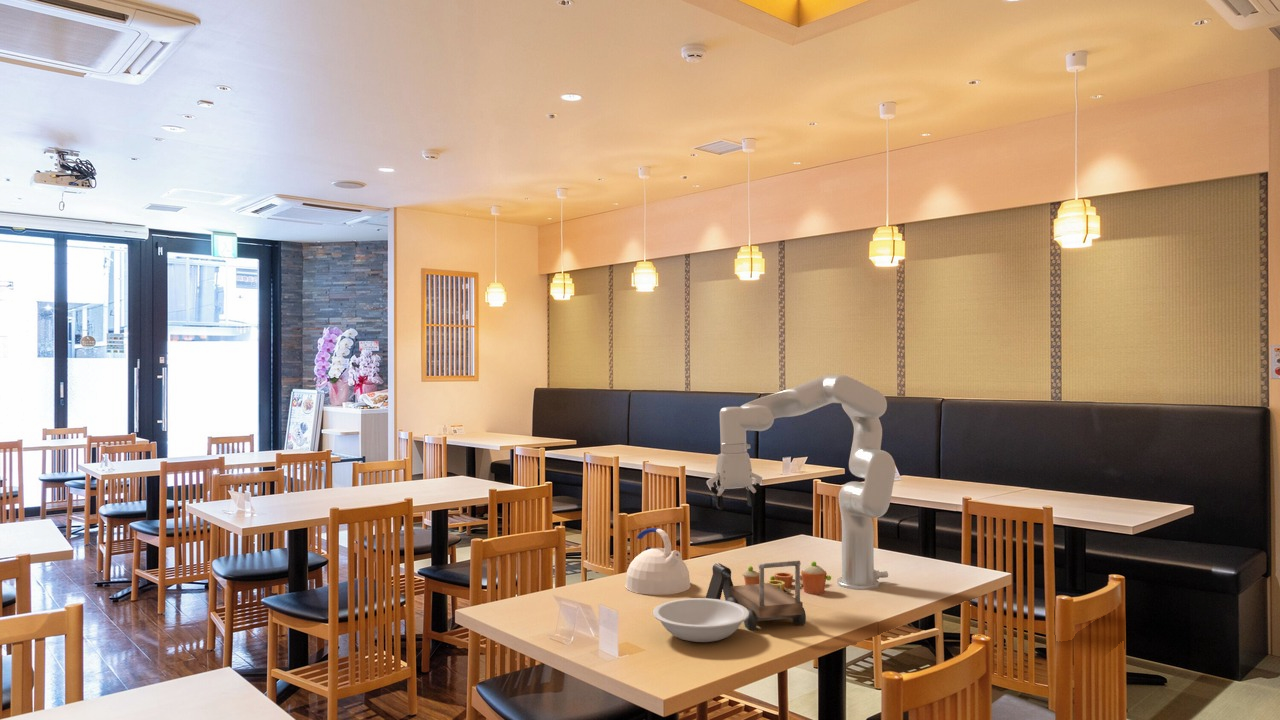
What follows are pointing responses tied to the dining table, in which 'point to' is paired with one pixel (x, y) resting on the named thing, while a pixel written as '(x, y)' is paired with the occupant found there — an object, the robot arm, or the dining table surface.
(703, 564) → the dining table surface
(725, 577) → the phone stand
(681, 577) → the kettle
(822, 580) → the toy tea set
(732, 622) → the soup bowl
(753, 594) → the trolley
